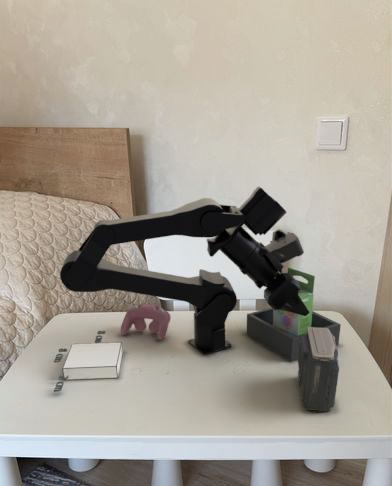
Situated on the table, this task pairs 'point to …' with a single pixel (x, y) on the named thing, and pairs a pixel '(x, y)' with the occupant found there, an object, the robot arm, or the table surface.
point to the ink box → (292, 321)
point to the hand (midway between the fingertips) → (300, 304)
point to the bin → (280, 341)
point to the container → (91, 361)
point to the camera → (318, 368)
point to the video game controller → (146, 312)
